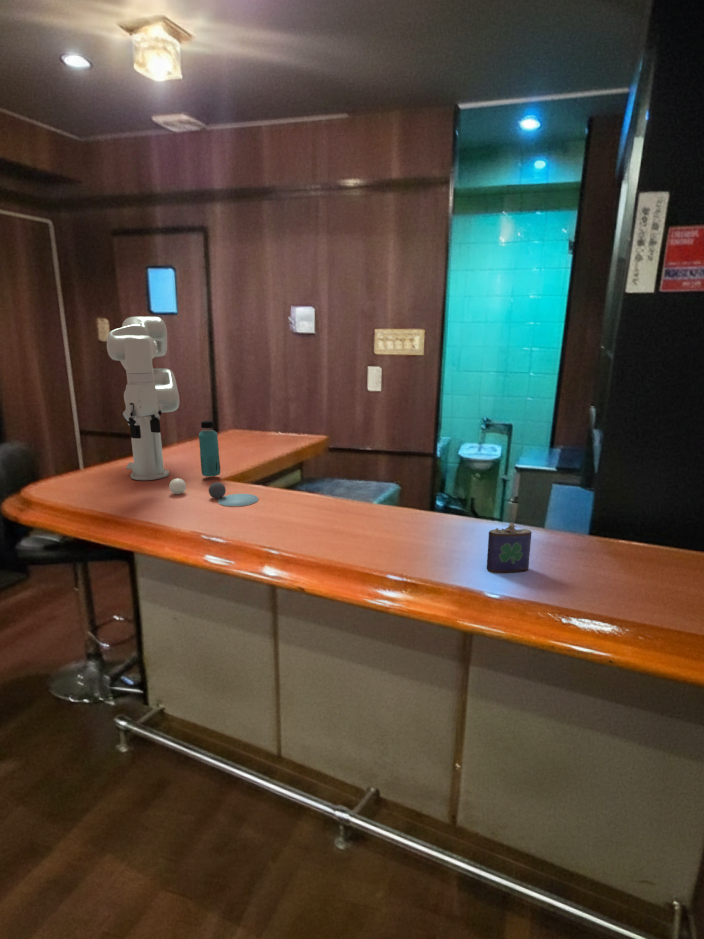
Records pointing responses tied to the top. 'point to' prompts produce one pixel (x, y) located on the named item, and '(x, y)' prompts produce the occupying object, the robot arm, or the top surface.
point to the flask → (508, 550)
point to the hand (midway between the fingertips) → (146, 435)
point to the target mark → (238, 500)
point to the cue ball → (177, 486)
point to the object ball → (217, 490)
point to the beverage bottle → (209, 450)
